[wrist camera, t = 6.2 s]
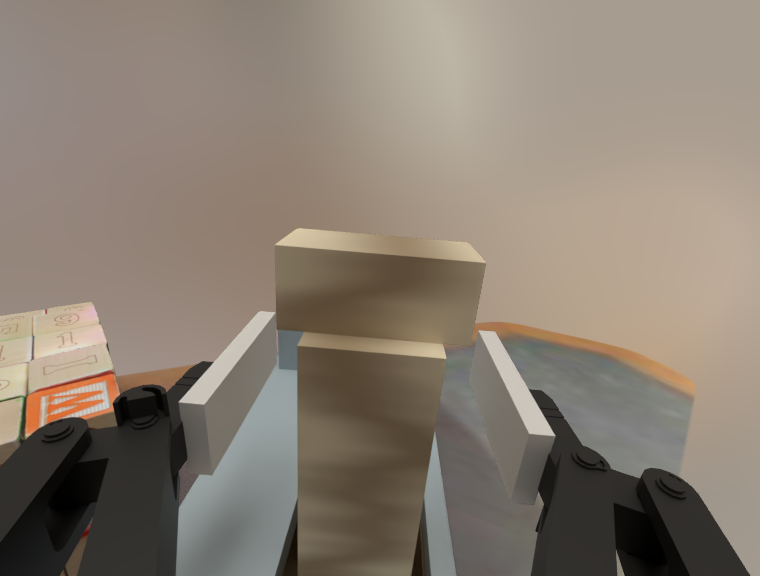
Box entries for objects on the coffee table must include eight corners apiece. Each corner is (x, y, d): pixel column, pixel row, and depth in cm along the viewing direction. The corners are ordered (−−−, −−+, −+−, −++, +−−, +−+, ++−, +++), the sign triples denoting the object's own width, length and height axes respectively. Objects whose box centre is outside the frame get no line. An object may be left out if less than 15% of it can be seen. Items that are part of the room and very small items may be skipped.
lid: (45, 773, 10) (-71, 551, 7) (274, 369, 29) (271, 262, 26) (478, 816, 10) (561, 611, 7) (423, 383, 28) (437, 277, 25)
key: (279, 690, 15) (264, 252, 9) (302, 586, 19) (303, 224, 12) (409, 703, 15) (494, 271, 9) (406, 595, 19) (463, 237, 12)
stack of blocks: (24, 414, 30) (-20, 278, 26) (114, 389, 34) (88, 267, 30) (-5, 692, 15) (-121, 477, 11) (162, 591, 19) (123, 403, 15)
